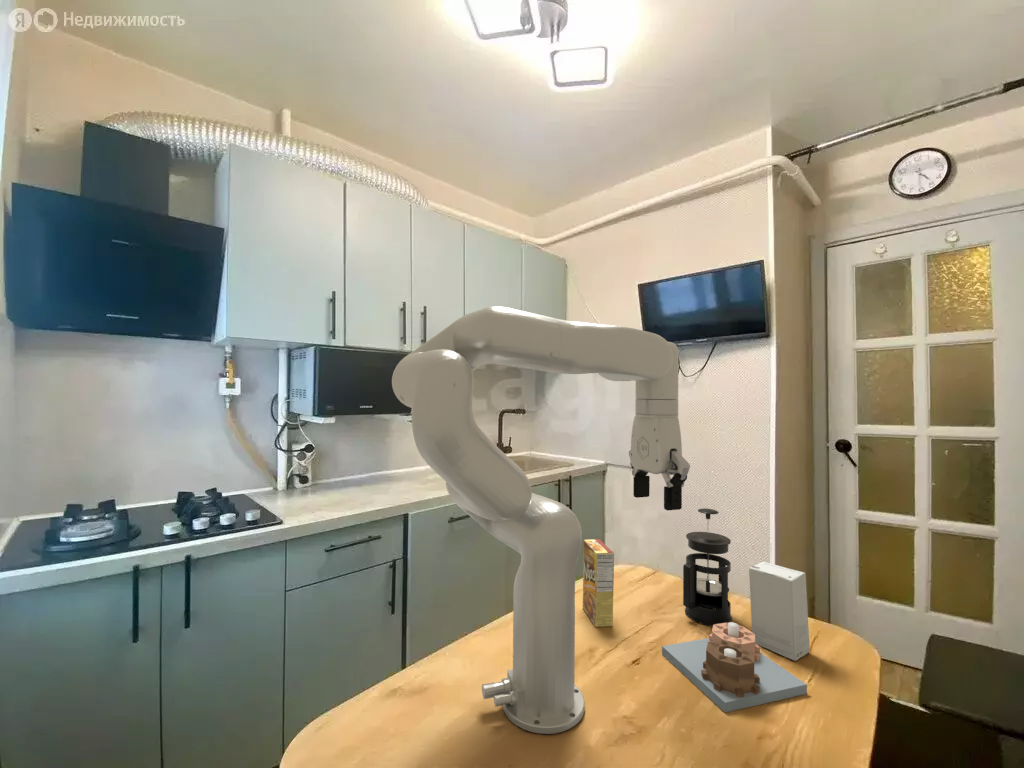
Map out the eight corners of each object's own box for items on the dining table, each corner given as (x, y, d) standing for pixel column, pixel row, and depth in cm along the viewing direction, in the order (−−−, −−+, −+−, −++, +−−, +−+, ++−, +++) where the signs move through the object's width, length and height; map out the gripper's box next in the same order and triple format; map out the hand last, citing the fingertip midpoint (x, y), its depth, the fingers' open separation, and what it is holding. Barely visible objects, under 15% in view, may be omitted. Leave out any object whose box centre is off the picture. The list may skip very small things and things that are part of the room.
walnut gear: (727, 701, 70) (727, 671, 70) (691, 668, 78) (691, 641, 78) (772, 691, 72) (772, 662, 72) (732, 660, 80) (732, 634, 80)
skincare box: (810, 653, 85) (809, 573, 86) (794, 663, 82) (794, 580, 82) (764, 633, 92) (764, 559, 93) (748, 642, 89) (748, 565, 89)
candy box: (581, 607, 103) (582, 539, 103) (599, 606, 103) (600, 538, 104) (595, 628, 94) (595, 553, 94) (614, 626, 95) (615, 552, 95)
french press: (708, 601, 106) (708, 502, 106) (743, 620, 98) (744, 512, 98) (669, 611, 101) (670, 507, 101) (703, 632, 93) (704, 518, 93)
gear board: (724, 712, 69) (724, 672, 69) (661, 654, 85) (662, 621, 85) (808, 693, 74) (808, 656, 74) (734, 641, 89) (734, 610, 89)
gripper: (614, 407, 91) (614, 493, 91) (667, 411, 75) (667, 516, 74) (647, 407, 93) (647, 491, 93) (706, 411, 77) (706, 513, 76)
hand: (656, 502), depth 84 cm, fingers open, 9 cm apart
